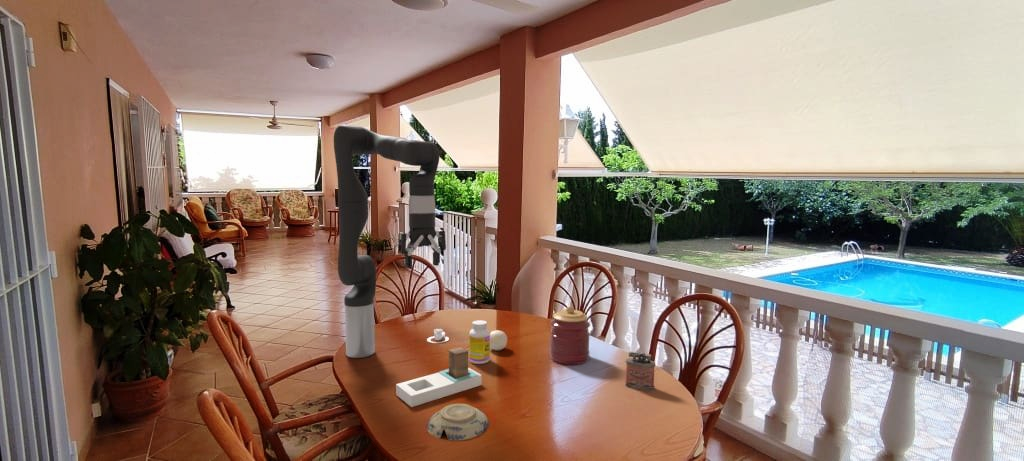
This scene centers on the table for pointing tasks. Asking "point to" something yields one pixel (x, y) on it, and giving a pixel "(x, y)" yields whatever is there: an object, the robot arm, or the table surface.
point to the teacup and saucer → (438, 336)
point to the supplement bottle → (479, 343)
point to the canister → (569, 337)
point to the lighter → (640, 371)
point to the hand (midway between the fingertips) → (422, 266)
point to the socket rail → (435, 386)
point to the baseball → (497, 340)
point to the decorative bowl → (458, 422)
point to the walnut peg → (458, 362)
